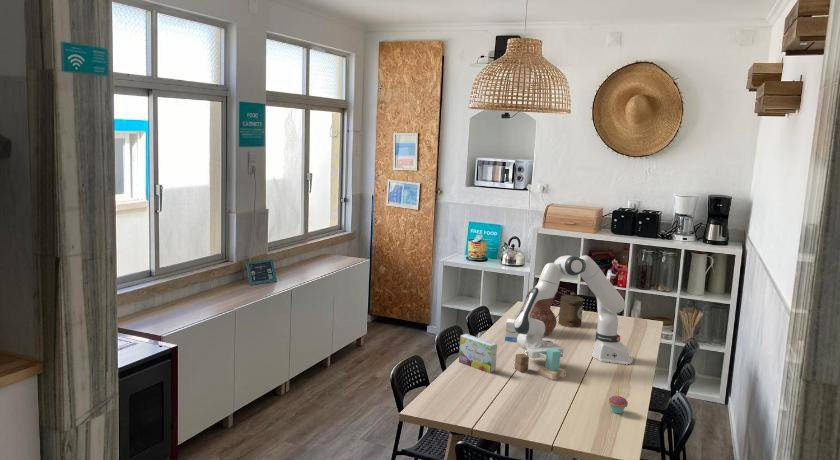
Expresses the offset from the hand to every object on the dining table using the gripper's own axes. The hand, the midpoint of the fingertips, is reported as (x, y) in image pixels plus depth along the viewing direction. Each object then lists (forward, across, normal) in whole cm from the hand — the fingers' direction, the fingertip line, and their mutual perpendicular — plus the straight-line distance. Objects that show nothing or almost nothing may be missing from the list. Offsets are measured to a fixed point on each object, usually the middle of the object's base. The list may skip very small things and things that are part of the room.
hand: (554, 356), depth 343 cm
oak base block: (-1, 0, +11) cm, 11 cm away
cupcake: (+47, +1, +11) cm, 48 cm away
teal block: (-1, 0, +7) cm, 7 cm away
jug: (-66, +38, +11) cm, 77 cm away
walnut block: (-12, -11, +10) cm, 20 cm away
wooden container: (-75, +71, +11) cm, 104 cm away
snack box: (-24, -31, +11) cm, 41 cm away
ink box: (-59, +14, +11) cm, 61 cm away
